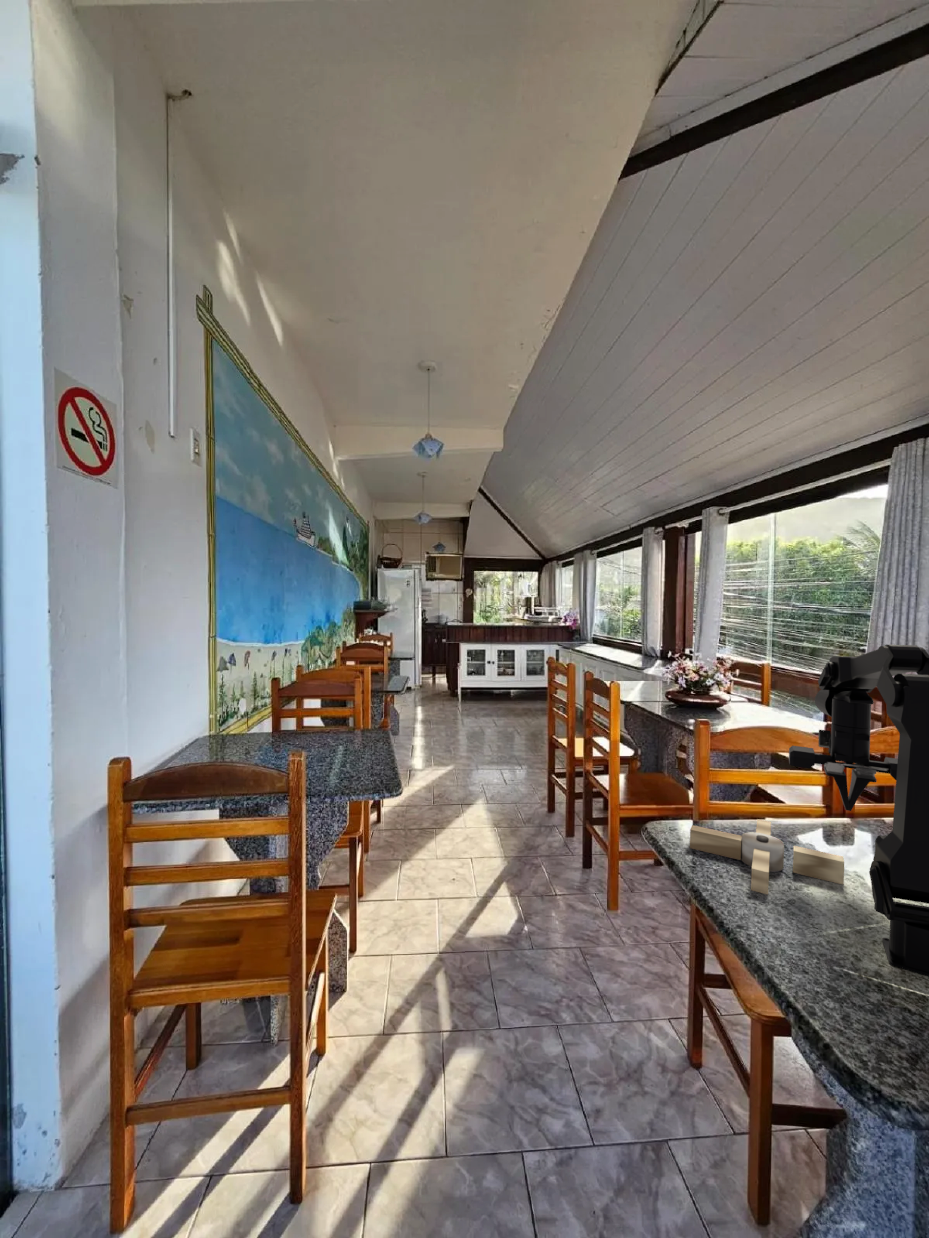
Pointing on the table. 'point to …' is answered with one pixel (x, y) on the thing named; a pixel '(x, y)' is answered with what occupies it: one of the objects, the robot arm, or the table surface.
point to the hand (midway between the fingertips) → (848, 809)
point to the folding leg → (818, 864)
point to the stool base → (744, 850)
